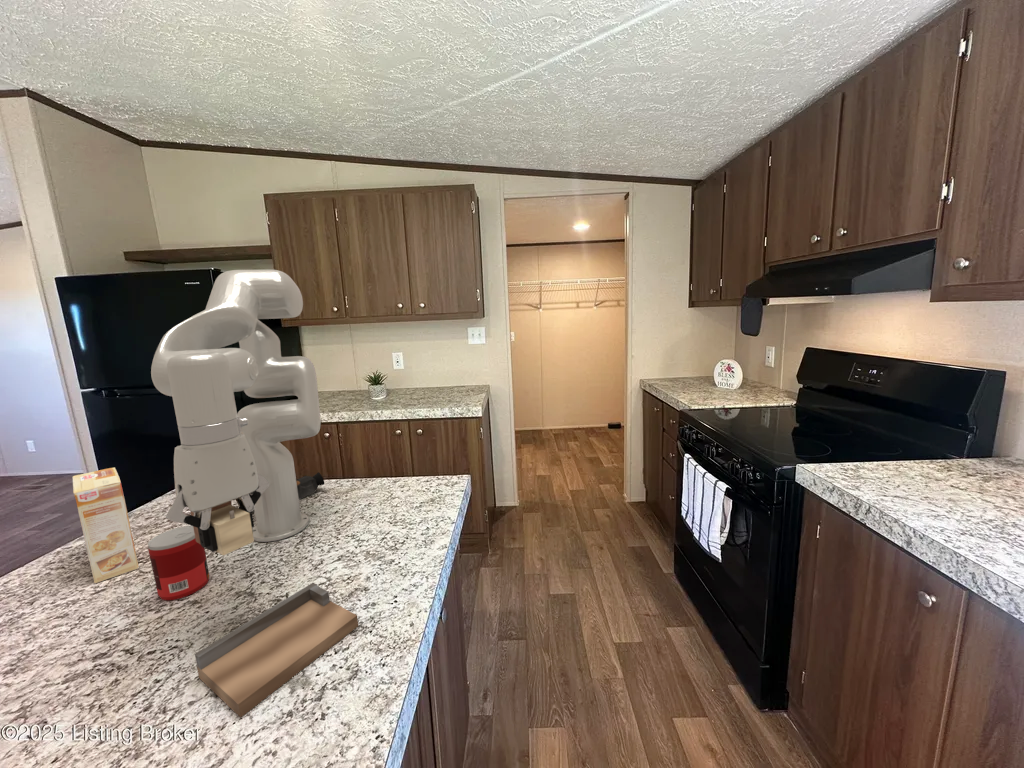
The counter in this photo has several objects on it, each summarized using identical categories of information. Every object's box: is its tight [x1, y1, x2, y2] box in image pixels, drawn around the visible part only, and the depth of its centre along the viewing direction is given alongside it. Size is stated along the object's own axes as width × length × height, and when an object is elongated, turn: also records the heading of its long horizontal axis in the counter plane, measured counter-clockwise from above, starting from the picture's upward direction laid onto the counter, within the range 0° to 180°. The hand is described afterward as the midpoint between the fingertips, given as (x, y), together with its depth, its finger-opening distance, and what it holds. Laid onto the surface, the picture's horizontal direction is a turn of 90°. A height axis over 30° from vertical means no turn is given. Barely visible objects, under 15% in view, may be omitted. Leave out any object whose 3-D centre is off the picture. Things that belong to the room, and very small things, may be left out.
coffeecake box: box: [72, 467, 140, 584], centre depth 89 cm, size 15×7×20 cm, turn 47°
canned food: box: [147, 525, 210, 601], centre depth 80 cm, size 8×8×11 cm
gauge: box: [189, 501, 255, 556], centre depth 67 cm, size 9×5×8 cm, turn 58°
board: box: [194, 582, 359, 718], centre depth 63 cm, size 12×18×4 cm, turn 148°
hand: (229, 540), depth 67 cm, fingers closed on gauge, 4 cm apart
